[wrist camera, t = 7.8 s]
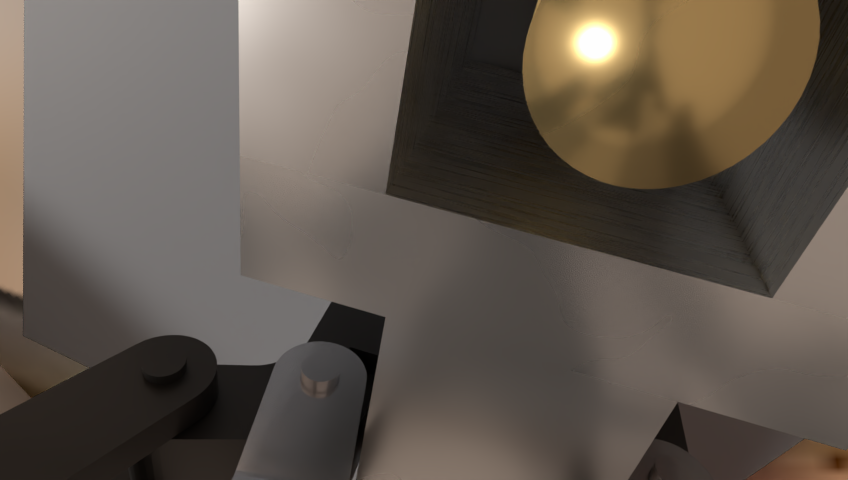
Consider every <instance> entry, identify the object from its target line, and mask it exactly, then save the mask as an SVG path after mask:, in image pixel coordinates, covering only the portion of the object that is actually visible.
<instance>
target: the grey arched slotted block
mask: <svg viewBox="0 0 848 480" xmlns="http://www.w3.org/2000/svg"><path fill="white" fill-rule="evenodd" d="M29 399H31V397H30V396H29V395H28V394H27V393H26V392H25V391H24V390H23V389H22V388H21V387H20V386H19V384H18V383H17V382H16V381H15V380H14V379H13V378H12V377H11V376H10V375H9V374H8V373H7V372H6V371H5V370H4V368H3V367H2V366H1V365H0V414H2V413H4V412H6V411H8V410H10V409H12V408H13V407H15V406H17V405H19V404H21V403H23V402H25V401H27V400H29Z"/></svg>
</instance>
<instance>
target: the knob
mask: <svg viewBox="0 0 848 480" xmlns="http://www.w3.org/2000/svg"><path fill="white" fill-rule="evenodd" d="M819 39H820V15H819V7H818V0H538V2H537V5H536V8H535V11H534V15H533V18H532V21H531V24H530V27H529V30H528V34H527V37H526V42H525V48H524V53H523V68H522V74H523V87H524V93H525V97H526V102H527V106H528V109H529V111H530V114H531V117H532V120H533V121H534V123H535V125H536V127H537V129H538V131H539V133H540V134H541V136H542V137H543V138H544V140H545V141H546V143H547V144H548V145H549V147H550V148H551V149H552V150H553V151H554V152H555V153H556V154H557V155H558V156H559V157H560V158H561V159H563V160H564V161H565V162H566V163H568V164H569V165H570V166H571V167H573V168H575V169H576V170H578V171H580V172H581V173H583V174H585V175H587V176H589V177H591V178H594V179H596V180H598V181H601V182H605V183H608V184H611V185H615V186H620V187H626V188H635V189H661V188H669V187H676V186H682V185H685V184H689V183H693V182H696V181H700V180H702V179H705V178H708V177H710V176H713V175H715V174H717V173H719V172H721V171H723V170H725V169H727V168H729V167H731V166H733V165H735V164H736V163H738V162H739V161H741V160H742V159H744V158H745V157H747V156H748V155H750V154H751V153H752V152H754V151H755V150H756V149H757V148H758V147H760V146H761V145H762V144H763V143H765V142H766V141H767V140H768V139H769V138H770V137H771V136H772V135H773V134H774V133H775V132H776V131H777V130H778V128H779V127H780V126H781V125H782V123H783V122H784V121H785V120H786V118H787V117H788V116H789V115H790V113H791V112H792V110H793V109H794V107H795V106H796V104H797V102H798V101H799V99H800V97H801V96H802V94H803V92H804V89H805V87H806V85H807V83H808V81H809V79H810V76H811V73H812V70H813V67H814V64H815V60H816V56H817V50H818V45H819Z"/></svg>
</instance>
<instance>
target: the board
mask: <svg viewBox="0 0 848 480" xmlns="http://www.w3.org/2000/svg"><path fill="white" fill-rule="evenodd" d="M537 2H538V0H483V1H482V5H481V10H480V15H479V19H478V24H477V28H476V33H475V37H474V42H473V47H472V51H471V56H470V60H472V61H476V62H481V63H485V64H489V65H493V66H497V67H501V68H505V69H509V70H514V71H518V72H522V68H523V53H524V48H525V42H526V37H527V34H528V30H529V27H530V24H531V21H532V18H533V15H534V11H535V8H536V5H537ZM23 222H24V223H23V225H24V226H23V227H24V228H23V230H24V231H23V233H24V235H23V240H24V241H23V336H24V337H26V338H28V339H31V340H33V341H35V342H37V343H39V344H41V345H43V346H45V347H47V348H49V349H51V350H53V351H55V352H57V353H60V354H62V355H64V356H66V357H68V358H70V359H72V360H74V361H76V362H78V363H80V364H82V365H84V366H86V367H89V368H91V367H93V366H95V365H97V364H99V363H101V362H103V361H105V360H107V359H108V358H110V357H112V356H114V355H116V354H118V353H120V352H122V351H124V350H126V349H128V348H130V347H132V346H134V345H136V344H138V343H140V342H142V341H144V340H147V339H150V338H154V337H158V336H164V335H183V336H189V337H192V338H196V339H198V340H200V341H202V342H204V343H205V344H207V345H208V346H209V347H210V348H211V349H212V351H213V352H214V354H215V356H216V359H217V364H218V365H266V364H272V363H275V362H277V361H278V359H279V358H280V357H281V356H282V355H283V354H284V353H285V352H286V351H288V350H290V349H291V348H293V347H295V346H297V345H300V344H304V343H307V342H308V340H309V339H310V337H311V335H312V334H313V332H314V330H315V329H316V327H317V325H318V324H319V322H320V320H321V318H322V317H323V315H324V313H325V312H326V310H327V308H328V307H329V305H330V303H331V302H332V301H328V300H325V299H321V298H318V297H314V296H311V295H307V294H304V293H300V292H297V291H294V290H290V289H287V288H283V287H280V286H276V285H273V284H269V283H266V282H262V281H259V280H256V279H252V278H249V277H245V276H242V275H241V247H240V128H239V9H238V0H24V219H23ZM678 405H679V410H680V415H681V419H682V424H683V429H684V433H685V438H686V443H687V447H688V452H689V454H691V455H692V456H693V457H695V458H696V459H697V460H698V461H699V462H700V463H701V464H702V465H703V466H704V467H705V468H706V469H707V470H708V472H709V473H710V474H711V476H712V477H713V479H714V480H745V479H747V478H748V477H750V476H751V475H753V474H754V473H755V472H757V471H758V470H760V469H761V468H763V467H764V466H766V465H767V464H769V463H770V462H771V461H773V460H774V459H776V458H777V457H779V456H780V455H782V454H783V453H785V452H786V451H787V450H789V449H790V448H792V447H793V446H795V445H796V444H798V443H799V442H801V441H802V440H803V439H805V438H801V437H798V436H794V435H791V434H788V433H784V432H781V431H777V430H774V429H770V428H767V427H763V426H760V425H756V424H753V423H750V422H746V421H743V420H739V419H736V418H732V417H729V416H725V415H722V414H718V413H715V412H712V411H708V410H705V409H701V408H698V407H694V406H691V405H687V404H684V403H680V402H678ZM358 466H359V464H358ZM358 466H357V469H356V472H355V474H354V477H353V479H352V480H356V477H357V471H358Z"/></svg>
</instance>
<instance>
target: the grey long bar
mask: <svg viewBox="0 0 848 480" xmlns="http://www.w3.org/2000/svg"><path fill="white" fill-rule="evenodd" d="M482 1H483V0H238V9H239V128H240V247H241V275H242V276H245V277H249V278H252V279H256V280H259V281H262V282H266V283H269V284H273V285H276V286H280V287H283V288H287V289H290V290H294V291H297V292H300V293H304V294H307V295H311V296H314V297H318V298H321V299H325V300H328V301H332V302H335V303H338V304H342V305H345V306H349V307H352V308H356V309H359V310H363V311H366V312H370V313H373V314H376V315H380V316H383V317H386V318H385V323H384V328H383V334H382V339H381V345H380V350H379V356H378V361H377V367H376V372H375V378H374V383H373V389H372V394H371V400H370V405H369V411H368V416H367V422H366V427H365V433H364V438H363V444H362V449H361V455H360V460H359V466H358V471H357V477H356V480H628V479H629V477H630V476H631V474H632V473H633V471H634V470H635V468H636V466H637V465H638V463H639V462H640V460H641V459H642V457H643V455H644V454H645V452H646V451H647V449H648V448H649V446H650V445H651V443H652V441H653V440H654V438H655V437H656V435H657V434H658V432H659V430H660V429H661V427H662V426H663V424H664V423H665V421H666V420H667V418H668V416H669V415H670V413H671V412H672V410H673V409H674V407H675V405H676V404H677V402H680V403H684V404H687V405H691V406H694V407H698V408H701V409H705V410H708V411H712V412H715V413H718V414H722V415H725V416H729V417H732V418H736V419H739V420H743V421H746V422H750V423H753V424H756V425H760V426H763V427H767V428H770V429H774V430H777V431H781V432H784V433H788V434H791V435H794V436H798V437H801V438H805V439H808V440H812V441H815V442H819V443H822V444H826V445H829V446H832V447H836V448H839V449H843V450H847V449H848V0H818V7H819V15H820V39H819V45H818V50H817V56H816V60H815V64H814V67H813V70H812V73H811V76H810V79H809V81H808V83H807V85H806V87H805V89H804V92H803V94H802V96H801V97H800V99H799V101H798V102H797V104H796V106H795V107H794V109H793V110H792V112H791V113H790V115H789V116H788V117H787V118H786V120H785V121H784V122H783V123H782V125H781V126H780V127H779V128H778V130H777V131H776V132H775V133H774V134H773V135H772V136H771V137H770V138H769V139H768V140H767V141H766V142H765V143H763V144H762V145H761V146H760V147H758V148H757V149H756V150H755V151H754V152H752V153H751V154H750V155H748V156H747V157H745V158H744V159H742V160H741V161H739V162H738V163H736V164H735V165H733V166H731V167H729V168H727V169H725V170H723V171H721V172H719V173H717V174H715V175H713V176H710V177H708V178H705V179H702V180H700V181H696V182H693V183H689V184H685V185H682V186H676V187H669V188H661V189H635V188H626V187H620V186H615V185H611V184H608V183H605V182H601V181H598V180H596V179H594V178H591V177H589V176H587V175H585V174H583V173H581V172H580V171H578V170H576V169H575V168H573V167H571V166H570V165H569V164H568V163H566V162H565V161H564V160H563V159H561V158H560V157H559V156H558V155H557V154H556V153H555V152H554V151H553V150H552V149H551V148H550V147H549V145H548V144H547V143H546V141H545V140H544V138H543V137H542V136H541V134H540V133H539V131H538V129H537V127H536V125H535V123H534V121H533V120H532V117H531V114H530V111H529V109H528V106H527V102H526V97H525V93H524V87H523V74H522V72H518V71H514V70H509V69H505V68H501V67H497V66H493V65H489V64H485V63H481V62H476V61H472V60H470V56H471V51H472V47H473V42H474V37H475V33H476V28H477V24H478V19H479V15H480V10H481V5H482Z"/></svg>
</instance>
